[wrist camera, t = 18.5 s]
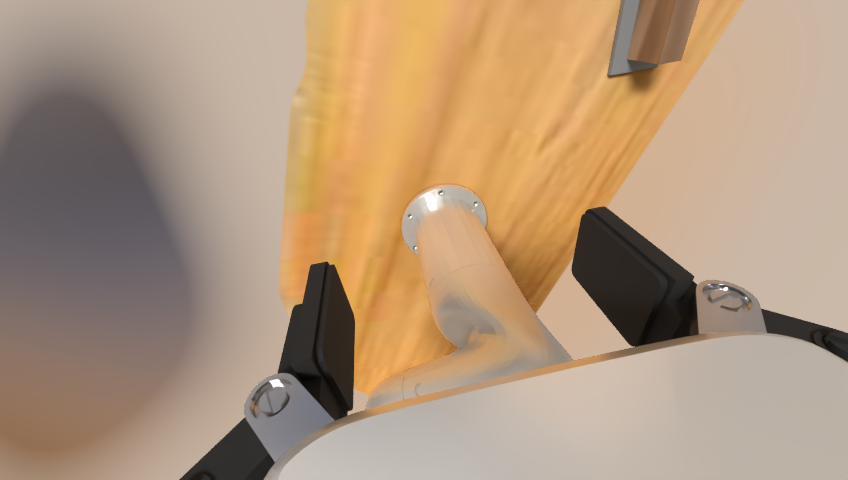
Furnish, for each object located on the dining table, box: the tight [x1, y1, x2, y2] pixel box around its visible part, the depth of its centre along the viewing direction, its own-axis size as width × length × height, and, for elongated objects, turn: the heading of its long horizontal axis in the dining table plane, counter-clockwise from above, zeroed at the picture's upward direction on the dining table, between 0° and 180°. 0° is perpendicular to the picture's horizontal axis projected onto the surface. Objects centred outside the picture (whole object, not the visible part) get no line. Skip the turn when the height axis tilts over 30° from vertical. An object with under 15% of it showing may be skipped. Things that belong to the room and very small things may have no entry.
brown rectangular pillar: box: [627, 0, 700, 64], centre depth 33 cm, size 2×10×5 cm, turn 7°
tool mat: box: [607, 0, 658, 75], centre depth 35 cm, size 13×6×1 cm, turn 7°
